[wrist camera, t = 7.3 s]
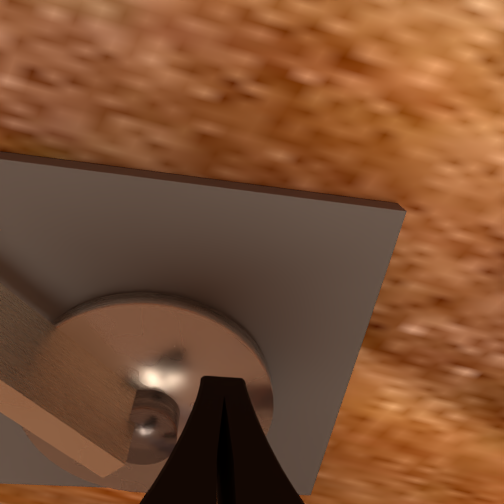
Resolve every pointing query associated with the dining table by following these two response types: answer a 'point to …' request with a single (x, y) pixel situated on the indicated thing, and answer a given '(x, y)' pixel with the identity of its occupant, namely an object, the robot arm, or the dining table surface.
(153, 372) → the dial
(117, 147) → the dining table surface
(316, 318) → the dial board
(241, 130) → the dining table surface
